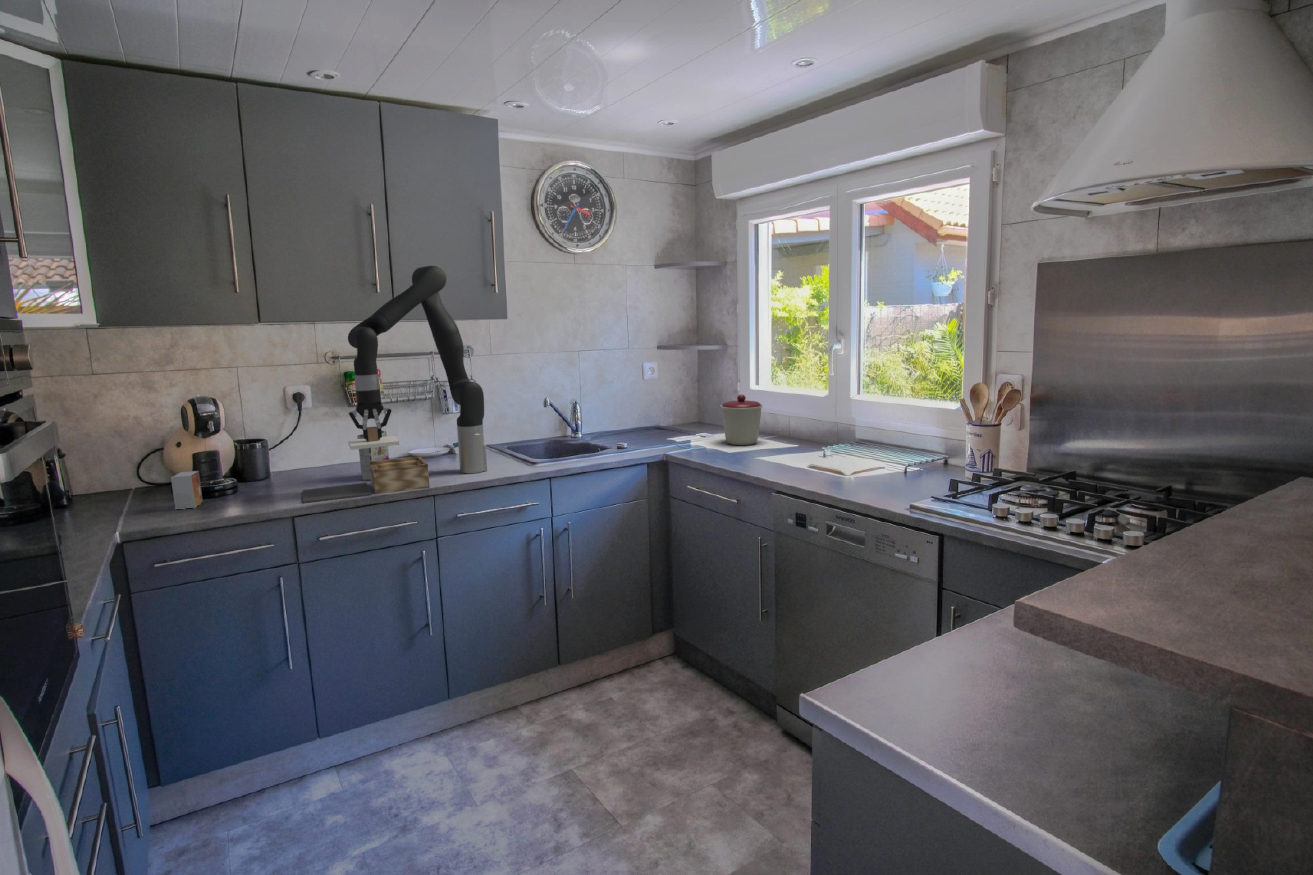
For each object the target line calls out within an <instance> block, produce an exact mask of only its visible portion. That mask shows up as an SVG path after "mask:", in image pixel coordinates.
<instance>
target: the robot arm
mask: <svg viewBox="0 0 1313 875" xmlns="http://www.w3.org/2000/svg"><path fill="white" fill-rule="evenodd" d="M411 282H412V284H411V285H410V286H409V287H408V288H406V290H404V291H403V292H401V293H400V294H398V295H396V296H394V297H393V298H391V299H389V300H388V301H387V302H386V303H383V305H382V306H380V307H379V308H378V309H377V310H376V311H375V312H373V314H371V315H370V316H369V317H367V318H366V319H364V320H362V321H360V322H359V323H358V324H357V325H355V326H353V328H352V329H351V330H350V331H349V332H348V335H347V341H348V344H349V345H350V346H351V347H352V348H355V349H356V357H355V358H354V359H353V370H354V372H353V373H354V389H355V396H356V407H355V409H353V410H352V411H349V412H348V415H349V417H350V419H351V420H352V422H353V423H354V425H355V427H356V429H358V430H362V434H363V437H364V439H366V441H369V440H368V430H367V427H368V421H369V420H371V419H372V420H374V421H375V422H374V423H375V425H376V427H377V432H378V440H380V438H382V431H381V430H382V428H383V427H386V426H387V425H388V422H389V420H390V416H391V413H392V409H391V408H389V407H388V408H387V407H384V405H383V404H382V397H381V395H382V394H381V384H380V378H379V374H378V366H377V365H378V363H377V357H378V349H379V340H378V336H379V335H380V334H385V333H386V332H388V331H389V330H391V328H393V327H394V326H395V325H396V324H398V323H399V321H401V320H402V319H403V318H405V316H406V315H408V314H409V313H410V312H411V311H412V310H414V309H415V308H416V307H417V306H419V304H421V306H422V308H423V311H424V314H425V317H426V320H427V322H428V326H429V328H430V332H431V334H432V338H433V340H434V344H435V346H436V349H437V352H438V355H439V357H440V360H441V364H442V366H443V368H444V371H445V374H446V375H445V376H446V378H447V383H448V385H449V386H448V387H449V390H450V395H451V398H452V400H453V401H454V403H455V404H457V405H459V407H460V409H459V411H460V413H459V416H457V418H456V430H457V443H458V445H457V446H458V457H459V458H458V460H459V471H460V473H463V474H478V473H483V472H487V471H488V463H487V461H488V460H487V449H486V448H487V445H485V440H484V439H485V438H484V437H485V436H484V423H483V422H484V417H485V396H484V395H485V393H484V391H483V387H482V386H481V384H479V383H477V382H476V381H475V382H474V381H470V379H469V375H468V373H467V370H466V368H465V363H464V362H465V361H464V355H465V354H464V353H465V352H464V343H463V342H464V341H463V339H462V336H461V333H460V329H459V327H458V325H457V323H456V321H455V320H454V319H453V317H452V316H451V314H450V313H449V312H448V310H447V309H446V308H445V306H444V304H443V302H442V299H441V295H440V293H439V292H440V291H442V290H443V289H444V287H445V286H446V284H447V275H446V273H445V271H444V270H443V269H442V268H441V267H439V266H436V265H427V266H419V267H417V268H416V269H414V271H413V272H412V275H411ZM382 412H383V414H384V417H383V420H382V422H381V421H380V418H379V417H380V415H381V414H382ZM357 414H358V415H360V417H362V423H361V424H360V423H359V421H358V419H357V416H358V415H357Z"/></svg>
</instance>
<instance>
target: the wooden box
mask: <svg viewBox="0 0 1313 875" xmlns="http://www.w3.org/2000/svg"><path fill="white" fill-rule="evenodd" d="M370 472H371V480H370V482H371V486H372V489H373V491H374V493H375V495H378V494H387V493H396V492H403V491H404V492H405V491H412V490H422V489H427V488H429V489H430V488H431V487H430V477H429V466H428V462H426V461H425V459H423V457H422V456H413V457H411V456H410V457H405V458H404V457H403V458H402V457H401V458H392V459H389V460H381V461H372V462H370Z"/></svg>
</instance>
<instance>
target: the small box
mask: <svg viewBox="0 0 1313 875" xmlns="http://www.w3.org/2000/svg"><path fill="white" fill-rule="evenodd" d="M200 477H201V476H200V471H199V470H192V471H181V472H178V473H177V474H175V475H173V476H170V479H171V480H170V481H171V487H172V494H173V502H174V507H175V510H176V509H183V510H187V509H186V508H193V509H196V508H198V507H199V506H200V505H202V504H203V503H204V501H203V494H202V487H201V486H202V485H201V478H200ZM202 502H203V503H202ZM201 503H202V504H201ZM198 505H199V506H198ZM197 506H198V507H197Z"/></svg>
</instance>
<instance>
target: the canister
mask: <svg viewBox="0 0 1313 875" xmlns="http://www.w3.org/2000/svg"><path fill="white" fill-rule="evenodd" d="M736 398H737V399H736V400H730V401H725V402H723V403H722V404H720V406H719V407H720V408H721V413H722V414H721V415H722V422H723V430H724V431H723V432H724V437H725V441H726V442H727V443H728V444H729V445H733V446H751V445H754V444H756V443H757V441H758V440H759V435H760V434H759V432H760V425H761V414H762V408H763V407H764V405H763V404H761V403H760V402H758V401H756V400H755V401H754V400H746V395H744V394H738V395H737V397H736Z"/></svg>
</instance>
